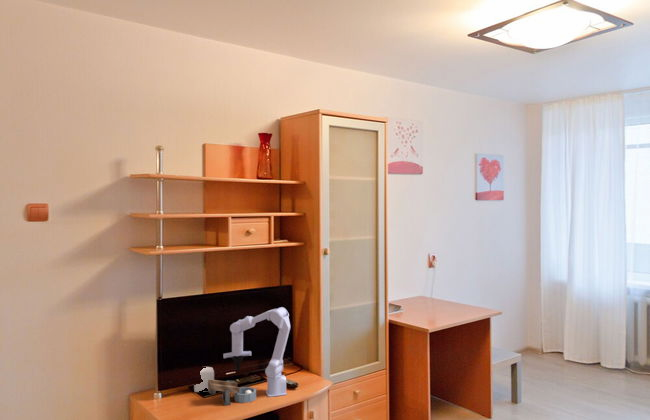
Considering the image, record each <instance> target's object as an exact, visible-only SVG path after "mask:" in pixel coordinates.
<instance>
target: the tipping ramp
mask: <svg viewBox="0 0 650 420" xmlns="http://www.w3.org/2000/svg"><path fill="white" fill-rule="evenodd" d="M240 388H241V387H239V386H238V382H236V381H234V380H231V379H229V380H228V379H227V380H220V379H219V380H218V379H214V380H210V379H209V380H208V391H207V392H208V393H209V394H212V395H216V392H217V391H218V392H223V391H224V392H225V389H230V393H233V394H234V393H239V389H240Z"/></svg>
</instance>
